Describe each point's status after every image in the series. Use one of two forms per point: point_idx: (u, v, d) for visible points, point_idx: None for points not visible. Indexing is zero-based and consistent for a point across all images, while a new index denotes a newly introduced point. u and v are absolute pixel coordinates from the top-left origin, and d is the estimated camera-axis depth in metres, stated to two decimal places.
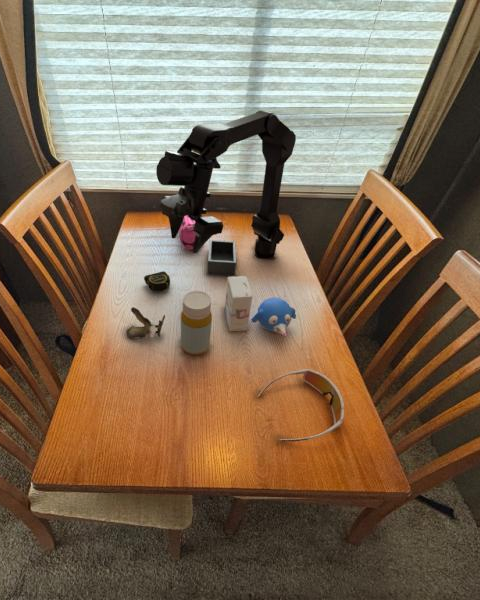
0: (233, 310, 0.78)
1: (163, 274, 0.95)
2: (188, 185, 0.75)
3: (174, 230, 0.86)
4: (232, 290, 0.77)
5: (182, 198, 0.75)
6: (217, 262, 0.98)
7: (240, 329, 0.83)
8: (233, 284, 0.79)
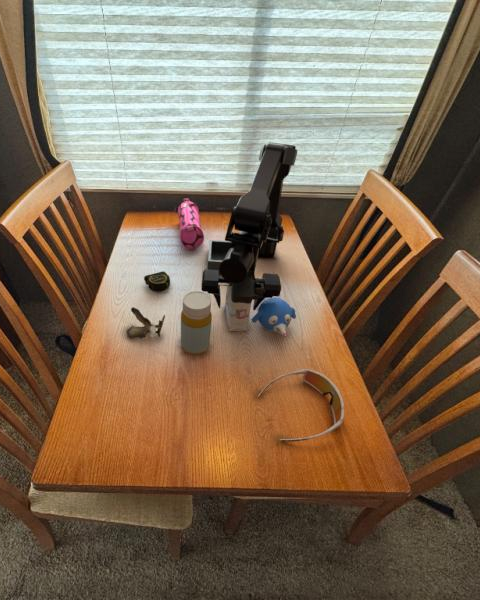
0: (233, 310, 0.78)
1: (163, 274, 0.95)
2: None
3: (220, 301, 0.82)
4: None
5: (246, 278, 0.72)
6: (217, 262, 0.98)
7: (240, 329, 0.83)
8: None
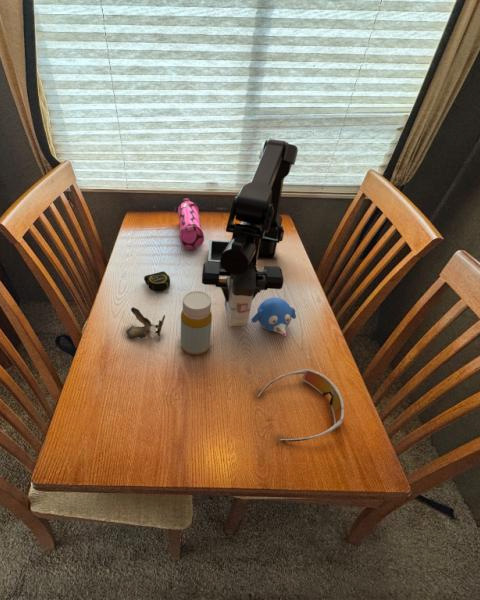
0: (234, 304, 0.77)
1: (163, 274, 0.95)
2: None
3: None
4: None
5: (247, 270, 0.70)
6: (217, 262, 0.98)
7: (240, 323, 0.82)
8: None
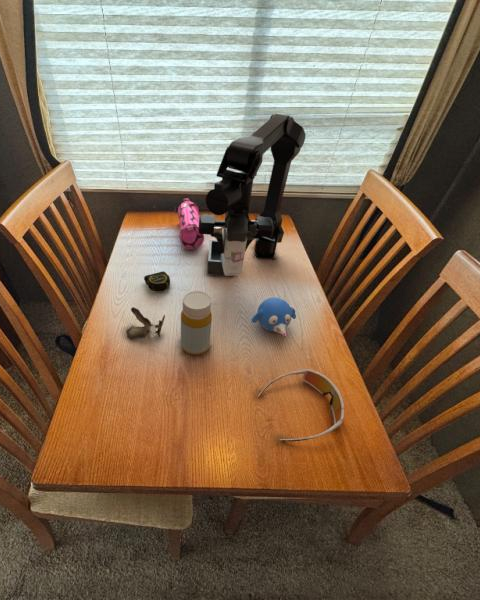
0: (229, 253, 0.83)
1: (163, 274, 0.95)
2: (240, 203, 0.75)
3: None
4: None
5: (240, 217, 0.76)
6: (217, 262, 0.98)
7: (235, 273, 0.87)
8: None
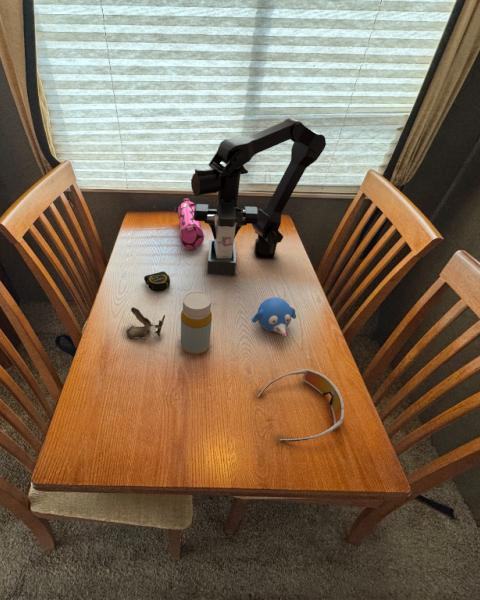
0: (220, 237, 0.95)
1: (163, 274, 0.95)
2: (229, 194, 0.87)
3: (215, 232, 0.98)
4: None
5: (229, 206, 0.88)
6: (217, 262, 0.98)
7: (226, 257, 1.00)
8: None
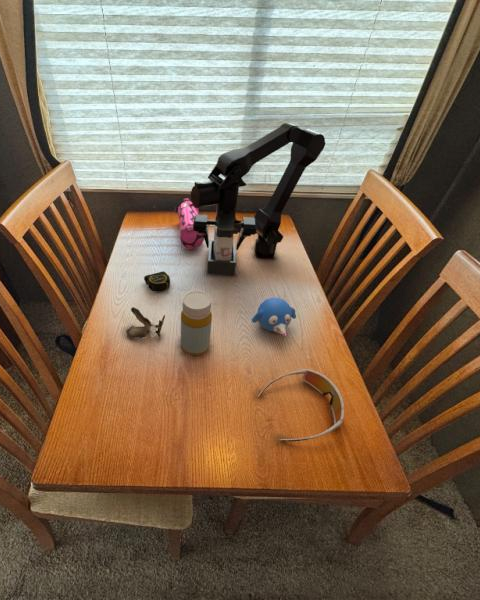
0: (218, 248, 0.97)
1: (163, 274, 0.95)
2: (228, 205, 0.90)
3: (208, 241, 1.00)
4: None
5: (228, 217, 0.90)
6: (217, 262, 0.98)
7: None
8: None
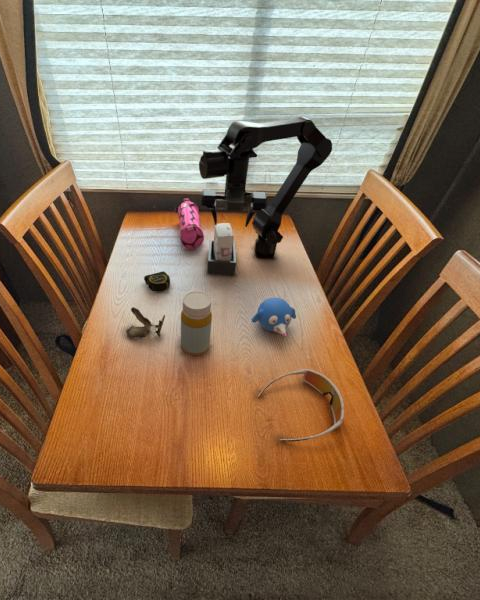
0: (218, 248, 0.97)
1: (163, 274, 0.95)
2: (237, 177, 0.86)
3: (216, 218, 0.97)
4: (217, 232, 0.97)
5: (237, 190, 0.87)
6: (217, 262, 0.98)
7: None
8: (218, 228, 0.98)
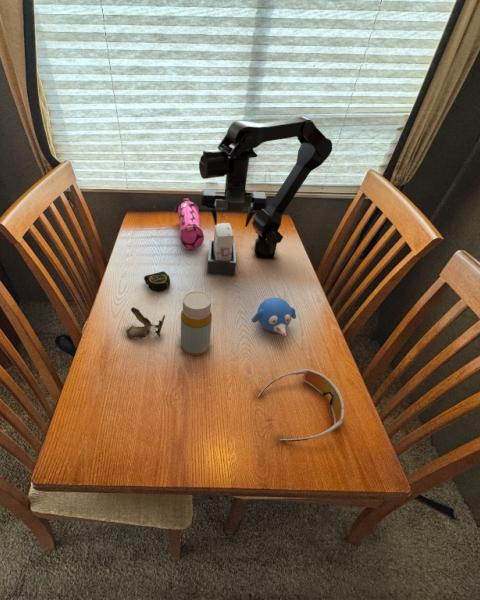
0: (218, 248, 0.97)
1: (163, 274, 0.95)
2: (238, 177, 0.86)
3: (216, 218, 0.97)
4: (217, 232, 0.97)
5: (238, 190, 0.87)
6: (217, 262, 0.98)
7: None
8: (218, 228, 0.98)
